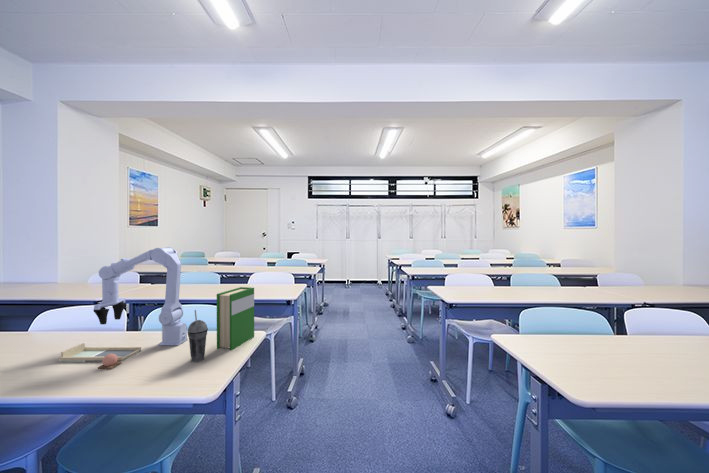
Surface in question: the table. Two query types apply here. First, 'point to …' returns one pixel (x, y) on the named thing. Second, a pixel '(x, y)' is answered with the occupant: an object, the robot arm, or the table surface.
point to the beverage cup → (197, 339)
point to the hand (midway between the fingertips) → (110, 321)
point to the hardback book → (235, 317)
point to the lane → (96, 353)
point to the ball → (109, 360)
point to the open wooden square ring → (110, 366)
